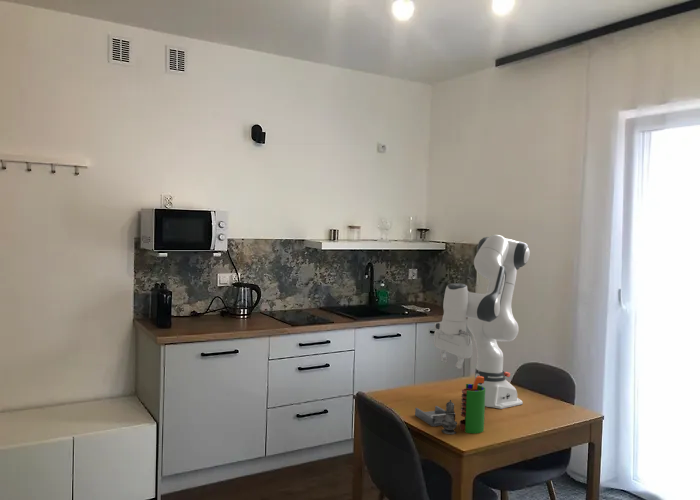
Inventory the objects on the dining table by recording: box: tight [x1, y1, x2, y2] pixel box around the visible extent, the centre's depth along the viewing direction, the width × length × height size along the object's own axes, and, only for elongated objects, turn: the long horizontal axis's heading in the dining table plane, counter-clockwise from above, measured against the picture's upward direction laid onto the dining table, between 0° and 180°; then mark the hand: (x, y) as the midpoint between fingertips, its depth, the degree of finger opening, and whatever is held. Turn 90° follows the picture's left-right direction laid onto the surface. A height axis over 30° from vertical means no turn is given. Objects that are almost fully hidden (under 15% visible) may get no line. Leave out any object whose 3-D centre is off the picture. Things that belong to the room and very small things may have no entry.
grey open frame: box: [414, 405, 456, 427], centre depth 226 cm, size 13×10×4 cm
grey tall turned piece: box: [441, 399, 458, 435], centre depth 213 cm, size 6×6×12 cm
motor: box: [459, 376, 486, 434], centre depth 217 cm, size 10×9×20 cm
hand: (451, 365), depth 212 cm, fingers open, 8 cm apart
